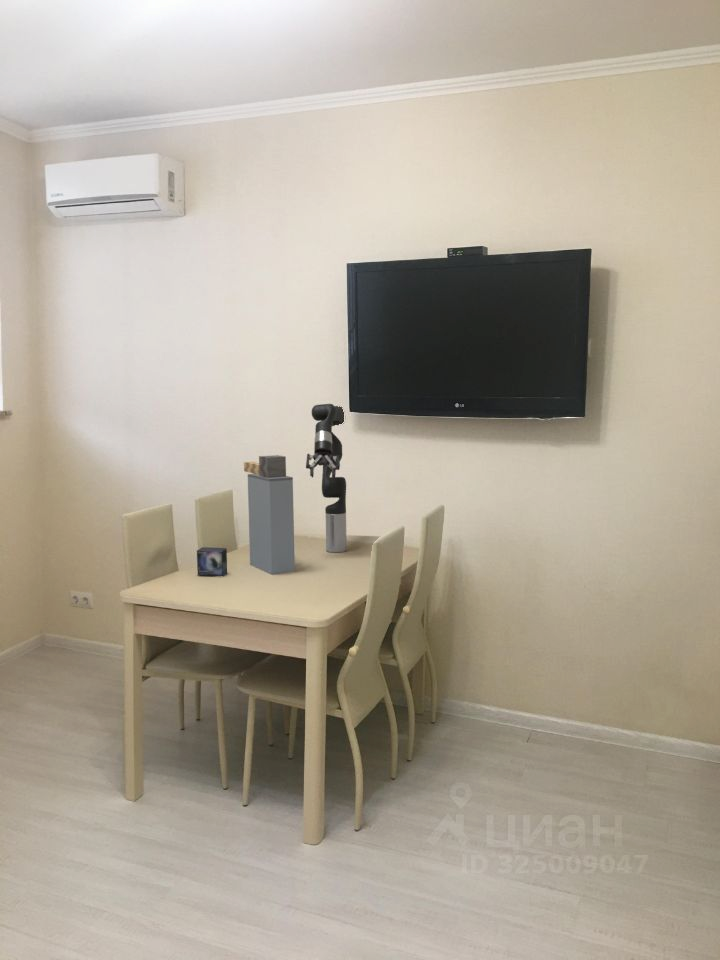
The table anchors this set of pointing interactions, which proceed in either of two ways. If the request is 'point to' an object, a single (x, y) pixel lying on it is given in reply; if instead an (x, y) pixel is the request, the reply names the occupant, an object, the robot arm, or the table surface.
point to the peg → (267, 466)
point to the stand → (271, 523)
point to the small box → (212, 561)
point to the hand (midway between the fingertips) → (322, 477)
